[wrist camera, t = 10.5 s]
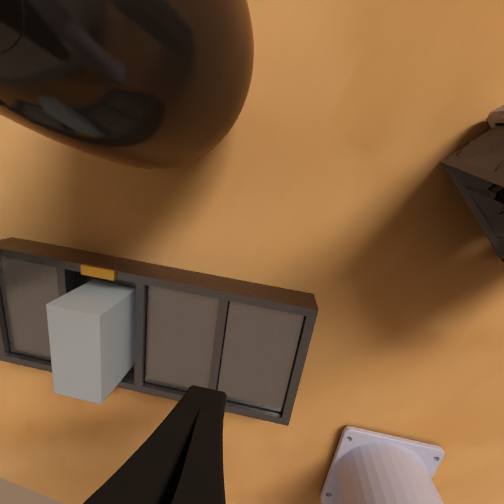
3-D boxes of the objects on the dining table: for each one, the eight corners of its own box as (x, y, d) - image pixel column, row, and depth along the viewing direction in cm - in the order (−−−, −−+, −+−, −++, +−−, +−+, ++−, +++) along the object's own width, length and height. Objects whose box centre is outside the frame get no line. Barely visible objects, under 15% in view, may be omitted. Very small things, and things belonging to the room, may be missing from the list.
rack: (287, 400, 21) (288, 428, 19) (27, 343, 23) (-3, 362, 20) (314, 293, 18) (318, 310, 16) (12, 236, 20) (-25, 244, 17)
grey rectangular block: (134, 363, 21) (101, 404, 17) (95, 354, 21) (54, 392, 17) (136, 288, 19) (99, 315, 15) (93, 279, 19) (46, 304, 15)
